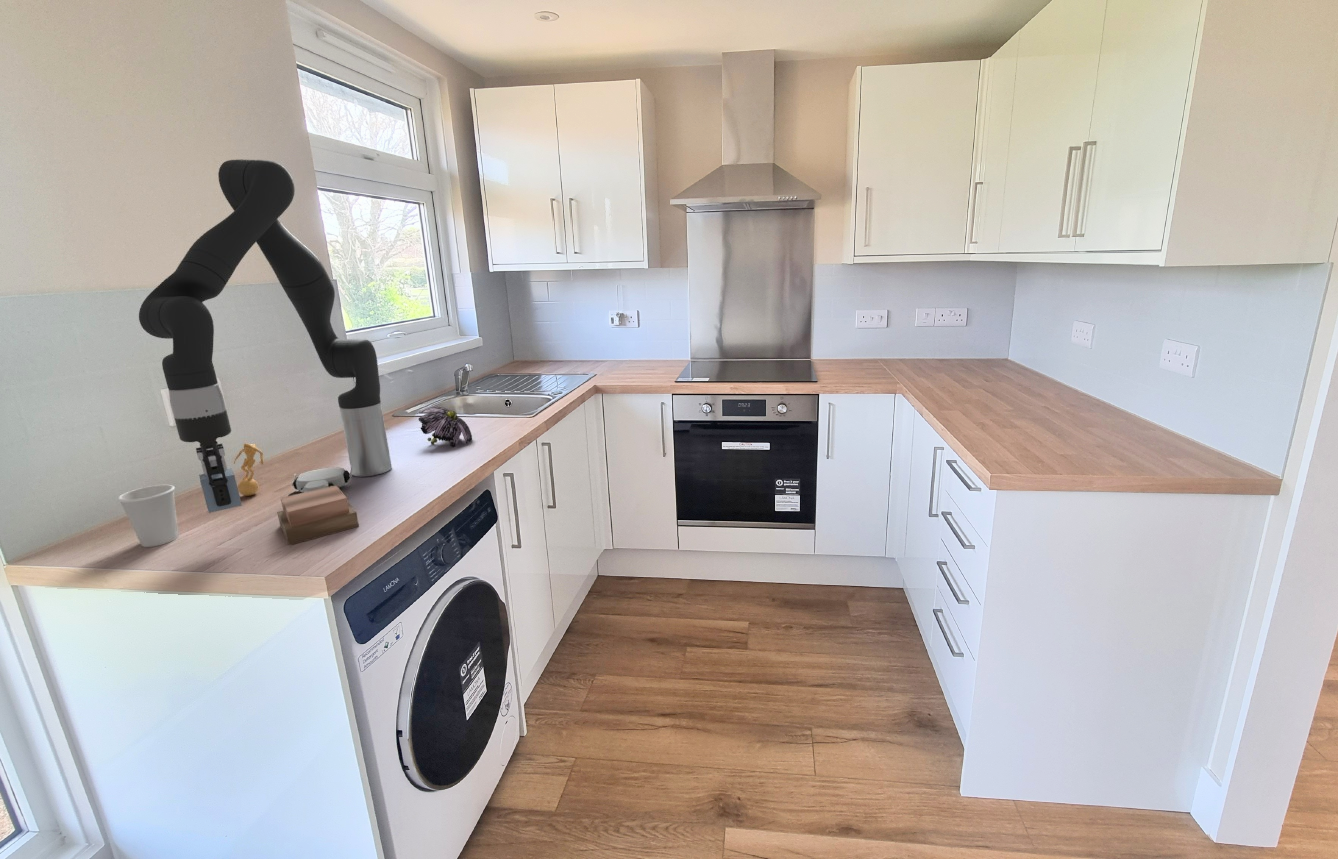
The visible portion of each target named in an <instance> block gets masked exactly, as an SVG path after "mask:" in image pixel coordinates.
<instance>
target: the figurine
mask: <svg viewBox="0 0 1338 859" xmlns="http://www.w3.org/2000/svg"><path fill="white" fill-rule="evenodd" d="M243 452H244V454H245V456H246V457H245V458H244V460H243V463H242V465H241V466H240V468H241V470H242V471H243V472H245V473H246V474H245V477H243V478H242V480H241V481H240V482H238V484H237V488H238V492H239V494H240V495H242V496H246V497H249V496H250V497H251V496H252V495H254V494H256V493H257V492H258V490H259V488H260V486H259V482H257V480H256V479H254V478H253V477H254V473H255V470H254V469H252V468H253V467H254V465H255V463H256V459H255V458H254V457H255V455H256V453H259V455H260V461H259V465H260V466H262V465H264V457H263V455H264V452H263V451H262V450H261V449H259V448H258V446H257V445H256V444H255V443H247V442H244V444H243V448H242V449H240V451H239V453H238V454H237V455H236V457H235V459H234V461H233V464H236V461H237V460H238V459H239V458H240V457H241V455H242V453H243ZM250 473H251V474H250Z"/></svg>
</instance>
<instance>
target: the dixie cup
mask: <svg viewBox="0 0 1338 859" xmlns="http://www.w3.org/2000/svg"><path fill="white" fill-rule="evenodd" d="M174 492H175V486H174V485H171V484H155V485H154V484H153V485H150V486H149V485H148V486H144V487H140V488H136V489H133V490H129V491H127V492H124V493H122V494H121V495H119V496H118V497H117V501H118V502H120V504H121V506H122V508H123V510H124V512H125V514H126V516H127V519H128V520H129V523H130V525H131V527H132V529H133V532H134V533H135V535H136V538H137V540H138V541H139V543H140V545H141V547H144V548H149V547H157V546H158V547H159V546H161V545H165V544H168V543H171V542H173V541H175V540H176V539H178V538H179V529H178V520H177V512H176V500H175V493H174Z"/></svg>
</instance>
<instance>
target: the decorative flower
mask: <svg viewBox="0 0 1338 859" xmlns="http://www.w3.org/2000/svg"><path fill="white" fill-rule="evenodd" d="M420 413H421V414H422V415H421V416H419V417H418V422H420V423H421V427H420V431H421V433H423V434H424V435H428V434H431V433H432V434H431V437H428V438H427V441H428V442H430V444H431V445H435V444H436V443H438V441H439V442H440V441H442V442H444V441H445V442H448V443H449V447H452V448H455V447H456V446H457V445H458V443H459V441H460V437H461V435H462V436H463V439H464V441H465V444H468V443H471V441H472V440H473V435H472V432H471V430H470V427H469V426H468V424H467V423H466V421H465V420H464V419H463V418H460V417H459V416H458V415H457V412H456V411H454V410H450V409H448V408H445V407H441V406H435V407H428V408H426V409H424V410H422V411H421V412H420ZM423 413H425V414H424V415H423ZM432 437H433V438H432Z"/></svg>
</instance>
